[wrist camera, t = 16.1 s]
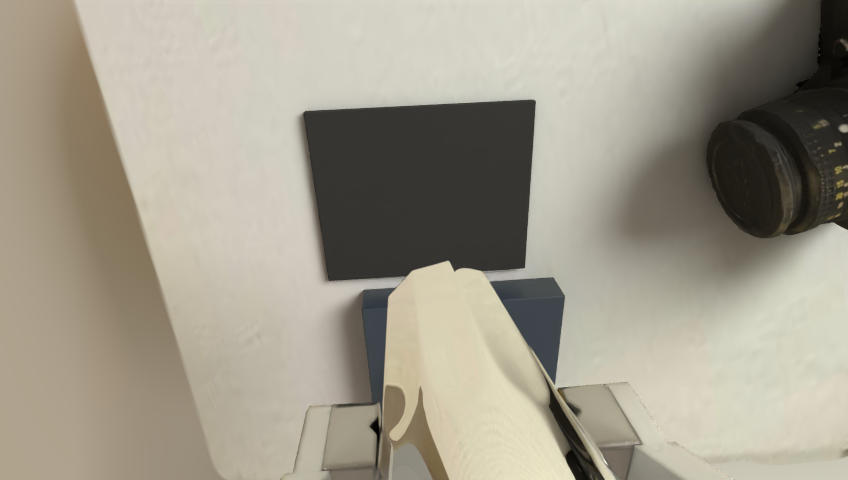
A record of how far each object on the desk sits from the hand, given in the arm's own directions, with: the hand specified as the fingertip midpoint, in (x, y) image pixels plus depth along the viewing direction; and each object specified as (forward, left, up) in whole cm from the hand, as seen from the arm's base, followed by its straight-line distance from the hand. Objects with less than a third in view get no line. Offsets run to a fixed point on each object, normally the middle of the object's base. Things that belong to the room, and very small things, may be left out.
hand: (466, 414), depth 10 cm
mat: (0, -1, -17) cm, 17 cm away
